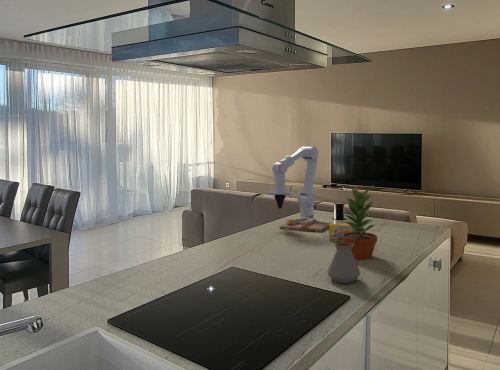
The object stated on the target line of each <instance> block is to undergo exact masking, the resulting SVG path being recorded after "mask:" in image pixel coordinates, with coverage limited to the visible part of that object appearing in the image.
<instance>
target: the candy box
mask: <svg viewBox="0 0 500 370" xmlns="http://www.w3.org/2000/svg"><path fill="white" fill-rule="evenodd" d="M364 227H365V226H364ZM364 227H362V228H364ZM364 229H365V228H364ZM328 230H329V231H328V233H329V234H328V235H329V236H328V241H330V242H333V241H334V242H343V240H342V234H344V233H348V232H356V231H354V230H353V229H352V227H351V226H350V225H349V224H347V223H332V224H329V228H328Z"/></svg>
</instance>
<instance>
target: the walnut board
mask: <svg viewBox="0 0 500 370" xmlns="http://www.w3.org/2000/svg"><path fill="white" fill-rule="evenodd" d="M329 224H333V222H326V221H324V222H323V221H316V220H314V221H313V223H312V224H310V225H308V226H306V227H301V223H297V224H291V225H287V222H285V223H283V224H281V225H279V226H278V227H280V228H288V229H287V230H289V229H297V230H296V231H300V230H308V231H307V232H311V231H317V232H316V233H322V231H323V232H324V231H326V230H327V229H329V228H328V227H329ZM325 229H326V230H325Z"/></svg>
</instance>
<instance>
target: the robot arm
mask: <svg viewBox="0 0 500 370" xmlns="http://www.w3.org/2000/svg"><path fill="white" fill-rule="evenodd" d="M318 156H319V150H318V148H317V147H316V146H301V147H299V148H298V149H297V151H295V152H294V153H293V154H291V155H286V156H284V158H283V159H281V160H279V161H278V162H275V163H274V164H273V166H272V167H271V168H272V169H271V170H272V172H273V175H274V191H273V190H269V191H267V196H273V198H274V199H275V201H276V205H277V208H278V209H279V210H280V209H282V208H283V204H284V201H285V199H286V196H287V197H293V196H294V192H292V191H286V173H287V171H288V169H289V168H291V167H292V166H293V165H294V164H295V161H297V160H299V159H300V158H303V160H304V161H305V162H306V163H307V164H306V171H305V176H304V182H303V188H302V189H301V190H300V191H299V193H298V196H297V198H296V199H297V204H299V205H298V206H299V209H300V213H299V214H300V216H299V218H303V217H306V218H307V220H308V215H310V214H311V215H314V217H313V220H314V221H316V218H315V208H314V205H315V204H316V193H315V191H313V189H314V188H313V187H314V183H315V178H316V177H315V175H316V171H317V164H318V158H319V157H318Z"/></svg>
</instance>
